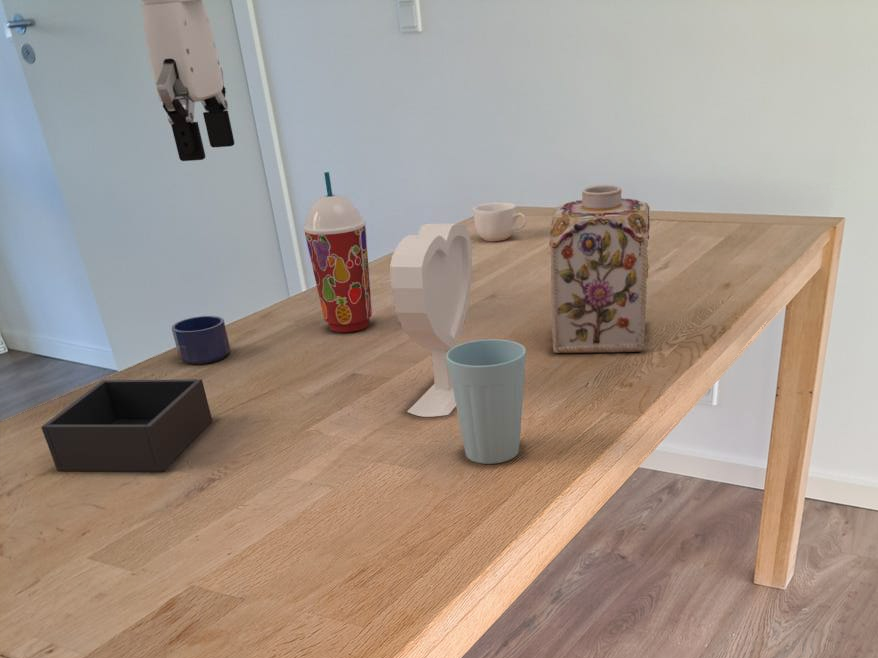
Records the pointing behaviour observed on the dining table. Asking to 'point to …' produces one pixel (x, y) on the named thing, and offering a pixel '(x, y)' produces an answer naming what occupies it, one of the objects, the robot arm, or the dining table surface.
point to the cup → (488, 397)
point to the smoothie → (339, 261)
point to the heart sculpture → (433, 301)
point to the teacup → (496, 220)
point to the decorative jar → (599, 272)
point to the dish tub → (128, 425)
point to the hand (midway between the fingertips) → (208, 153)
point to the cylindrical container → (201, 339)
